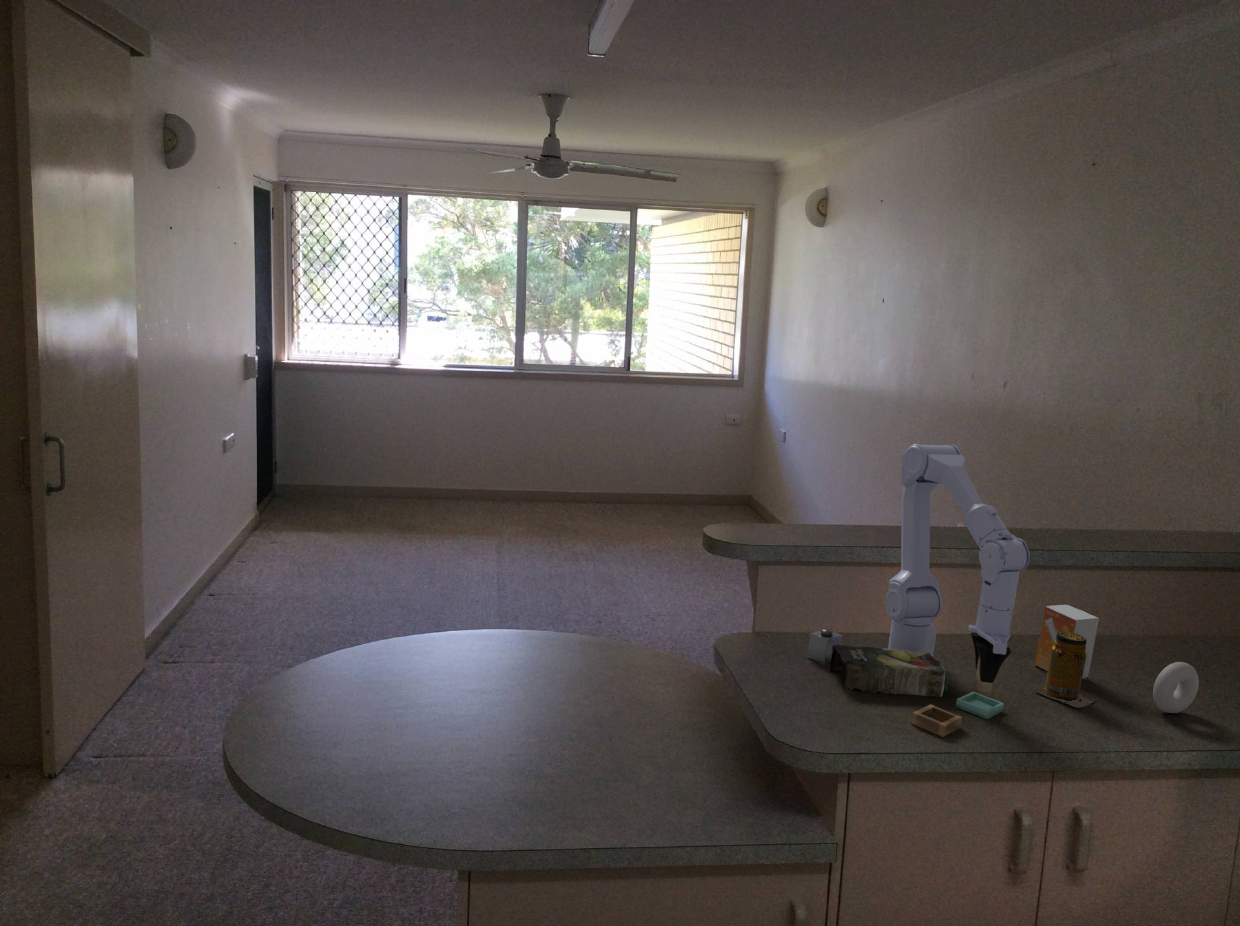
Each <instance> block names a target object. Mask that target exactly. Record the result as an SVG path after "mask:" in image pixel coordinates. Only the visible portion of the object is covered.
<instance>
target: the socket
mask: <svg viewBox="0 0 1240 926" xmlns="http://www.w3.org/2000/svg"><path fill="white" fill-rule="evenodd" d="M962 722H963V717H962V716H960V715H958V714H955V713H953V712H950V711H948V710H945V709H943V708H940V707H938V706H936V705H934V704H928V705H926V706H924V707H921V708H919V709H917V710H915V711H913V712H912V715H911V723H910V724H912V725H914V726H916V727H918V728H921V729H923V730H926V731H928V732H930V733H933V734H935V735H937V736H939V737H941V738H943V737H946V736H948V735H950V734H951V733H953V732H955V731H958V730H959V729H961V728H962Z"/></svg>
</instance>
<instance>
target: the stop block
mask: <svg viewBox="0 0 1240 926" xmlns="http://www.w3.org/2000/svg"><path fill="white" fill-rule="evenodd" d="M842 638H843V635H842V634H840V633H838V632H835V631H833V629H830V628H827V627H822V628H820V630H818V631H814V632H811V633H809V641H808V650H807V655H806V656H807V658H809V659H811V660H813V661H816V662H817V663H820V664H823V665H826V664H829V663H831V656H832V655H831V654H832V647H833V645H842Z"/></svg>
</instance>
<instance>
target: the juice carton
mask: <svg viewBox="0 0 1240 926" xmlns="http://www.w3.org/2000/svg"><path fill="white" fill-rule="evenodd" d="M831 655H832V656H831V662H830V665H829V672H830V673H832V672H841V679H840V681H841V684H842V688H843V689H844V690H846V688H849V690H851V691H852V690H853V689H859V690H860V691H862V692H871V693H878V692H880V694H881V693H882V694H893V695H912V696H923V697H924V696H925V697H927V696H929V697H937V698H938V697H939V698H941V697H943V695H944V694H945V693H947V691H948V682H947V681H946V679H945V678H946V669H945V667H944V666H943V665H942V664H941V661H939V659H936V658H935V657H934V655H933V656H932V655H931V653H926V652H919V651H908V650H898V649H888V648H886V647H885V648H883V647H873V646H872V647H871V646H852V645H843V644H841V645H833V647H832V654H831Z"/></svg>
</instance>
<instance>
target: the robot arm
mask: <svg viewBox="0 0 1240 926" xmlns="http://www.w3.org/2000/svg"><path fill="white" fill-rule="evenodd" d="M965 467H966V457H965V456H964V455H963V454H962V451H961V450H960V448H959V447H958V446H956V444H946V445H945V444H944V445H943V444H941V445H940V444H919V443H913V444H911V445H910V446H908V447H907V448H906V450H904V452H903V453H902V455H901V477H900V478H901V481H900V482H901V536H900V537H901V542H900V543H901V545H900V550H901V551H900V552H901V554H900V565H901V566H900V571H898V573H897V574H896V575H894V576H893V577H892V578H891V579H889V581H888V589H887V593H886V596H885V608H886V611H887V614H888V616H889V618H890V619H891V625H890V632H889V639H888V646H887V649H898V650H908V651H919V652H926V653H931V655H932V656H933V657H934V653H935V652H934V651H935V645H936V639H937V632H938V631H937V627H936V624H935V622H934V619H935V618H937V617H939V615H940V614H941V612H942V608H943V599H942V595H941V590H940V581H939V580H938V579H937V578H936V577H935V576H934V575H933V574H932V573H931V572H930V560H931V559H930V558H931V557H930V556H931V555H930V552H931V551H930V549H931V547H930V543H931V539H930V538H931V537H930V536H931V493H932V492H933V490H935V488H937V487H938V486H939V485H941V484H943V485H944V486H945V487H946V488H947V489H946V490H948V492H950V493H949V494H951V496H952V497H953V498H954V499H955V501H956V502H957V504H958V505H959V506H960V508H961V509H962V510H963V512H964V514H965V515H964V519H963V523H964V525H965V527H966V529H967V530H968V531H969V533H970V535H971V537H972V538H973V540H974V541H975V543H976V545H977V546H978V548H979V552H978V558H979V564H980V567H981V571H980V575H981V579H982V584H981V590H980V596H979V602H978V608H977V614H976V621H975V624H968V627H967V629H968V631H969V632H971V633H970V636H971V639H972V643H973V648H974V657H975V658H974V660H975V671H976V672H977V665H978V659H979V658H980V680H981V682H987V683H993V684H994V681H995V680H996V678H997V675H998V673H999V671H1000V669H1001V666H1002V665H1003V663H1004V661H1005V660H1006V659H1007V658H1008V657H1009V656H1011V655H1010V654H1011V653H1012V652H1011V651H1012V650H1011V648H1010V647H1008V642H1009V639H1010V638H1011V626H1012V619H1013V613H1014V608H1015V602H1016V595H1017V590H1018V584H1019V578H1020V577H1019V576H1020V572H1023V571H1024V570H1025V569H1026V568H1027V567H1028V566H1029V563H1030V558H1031V557H1030V556H1031V555H1030V550H1029V548H1028V545H1027V543H1026V541H1025V540H1024V539H1022V538H1021V537H1020V538H1019V537H1016V536H1015V534H1012V533H1011V532H1010V531H1009V530H1008V528H1007V527H1006V525H1005V524H1004V522H1003V520H1002V519H1001V517H1000V516H999V515H998V513H999V512H998V511H997V509H996V508H995V507H993V506H992V505H990V504H984V503H983V501H982V500H981V497H980V495H979V494H978V491H977V490H976V487H974V486H975V485H974V484H973V483H972V480H971V479H970V477H969V475H968V473H967V472H966V470H965V469H966V468H965ZM976 672H975V673H976Z"/></svg>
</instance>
